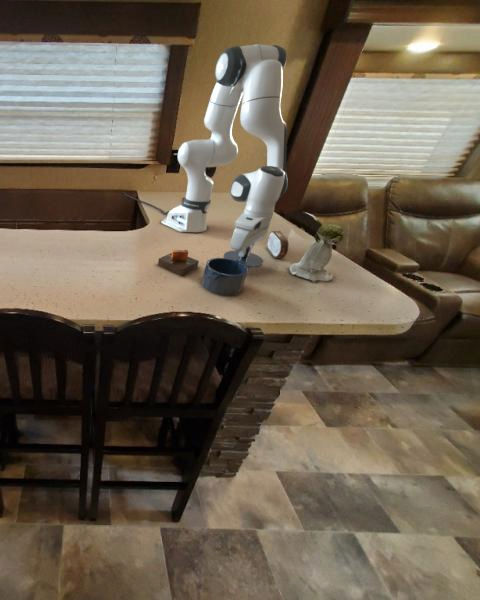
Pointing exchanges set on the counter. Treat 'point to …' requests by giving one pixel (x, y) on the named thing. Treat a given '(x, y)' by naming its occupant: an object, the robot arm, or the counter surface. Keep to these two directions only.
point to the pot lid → (245, 258)
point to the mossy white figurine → (319, 254)
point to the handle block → (178, 264)
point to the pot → (224, 276)
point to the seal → (179, 255)
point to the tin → (277, 244)
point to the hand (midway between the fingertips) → (244, 254)
